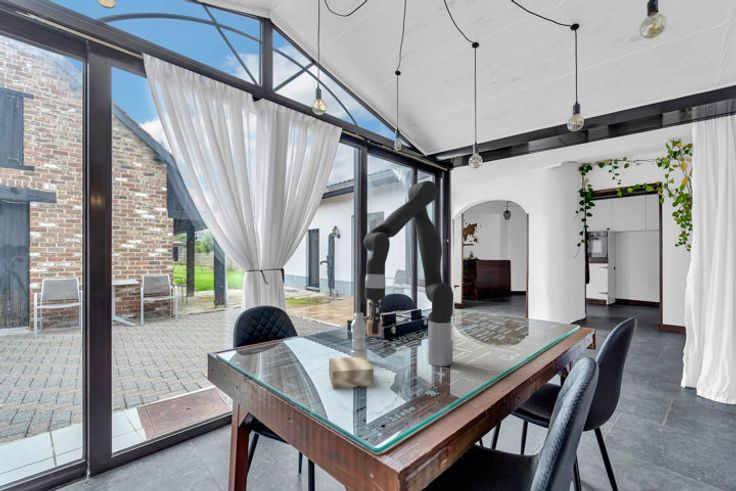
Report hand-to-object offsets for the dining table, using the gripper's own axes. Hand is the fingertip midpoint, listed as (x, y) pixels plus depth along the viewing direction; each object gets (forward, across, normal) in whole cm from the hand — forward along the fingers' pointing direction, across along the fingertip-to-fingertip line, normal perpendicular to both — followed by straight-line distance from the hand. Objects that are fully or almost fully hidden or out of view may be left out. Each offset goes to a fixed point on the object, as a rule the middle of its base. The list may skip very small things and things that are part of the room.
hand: (374, 332), depth 126 cm
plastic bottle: (+16, +18, +4) cm, 24 cm away
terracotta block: (+1, 0, 0) cm, 1 cm away
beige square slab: (+17, -2, +8) cm, 19 cm away
